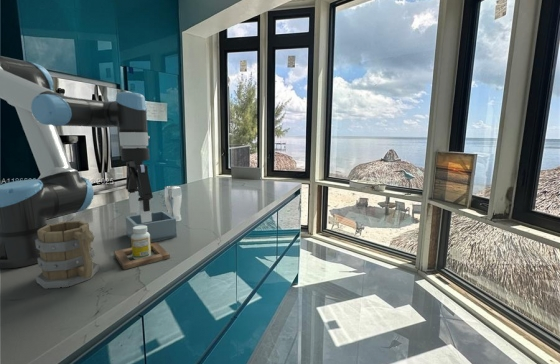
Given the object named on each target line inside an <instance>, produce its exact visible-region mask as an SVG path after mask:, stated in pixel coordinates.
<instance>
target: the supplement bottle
mask: <svg viewBox="0 0 560 364" xmlns="http://www.w3.org/2000/svg"><path fill="white" fill-rule="evenodd" d="M133 232H134V234H132V236H131V239H130V240H131V241H130V242H131V248H132V254H131V255H132V258H133V260H136V259H140V258H145V257H149V256H152V249H151V245H150V244H151V242H150V234H149V233H148V232H147V226H145V225H140V226H135V227H133Z"/></svg>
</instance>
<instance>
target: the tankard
mask: <svg viewBox="0 0 560 364" xmlns="http://www.w3.org/2000/svg"><path fill="white" fill-rule="evenodd" d="M37 232H38V239H36V240H35V244H36V248H37V249H38V250H40V257H39V258H38V263H37V266H38V267H39V268H40V269H41V273H39V275H37V276H36V277H35V279H36V283H37V284H38V285H39V286H41V287H42V288H43V289H45V290H46V289H47V290H49V289H58V288H59V289H60V287H62V288H70V287H72V286H75V285H77V284H80V283H83V282H87V281H89V280H91V279H92V278H93V277H94V276H95V274H97V273H98V272H99V270H100V265H99V264H98V263H96V262H94V261H93V259H94V257H95V256H96V255H95V248H94V247H92V242H94V240H95V235H94V233H93V231H92V230H90V224H89V223H88V222H85V221H83V220H70V221H69V220H67V221H60V222H56V223H55V222H54V223H50V224H47V225H46V226H45V227H43V228H41V229H39V230H38V231H37ZM69 286H70V287H69ZM48 288H49V289H48Z"/></svg>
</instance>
